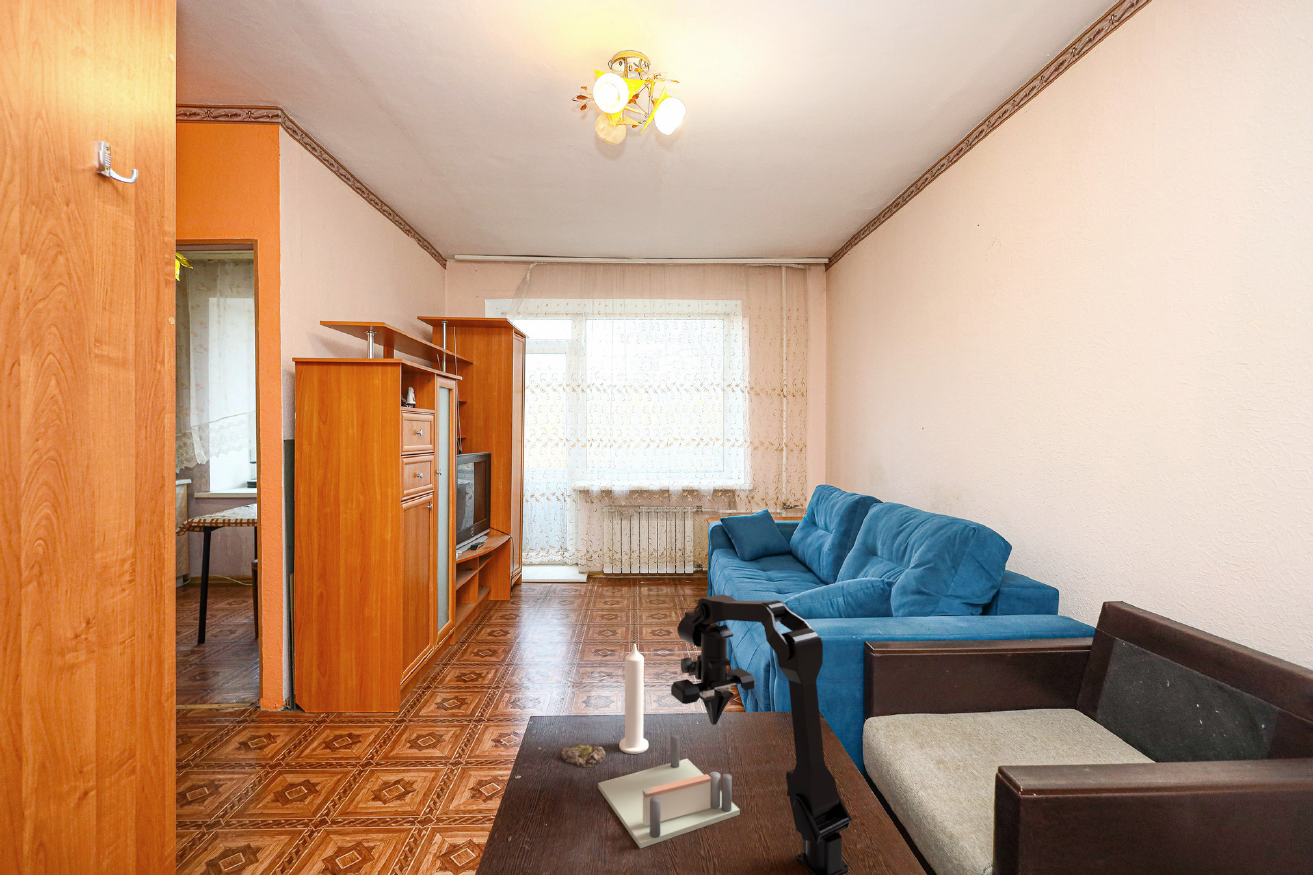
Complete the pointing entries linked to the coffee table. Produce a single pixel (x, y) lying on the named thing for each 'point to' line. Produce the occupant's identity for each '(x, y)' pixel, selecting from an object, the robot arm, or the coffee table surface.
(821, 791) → the robot arm
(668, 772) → the gate base
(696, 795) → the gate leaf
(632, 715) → the candle
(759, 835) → the coffee table surface
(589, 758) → the mineral rock
